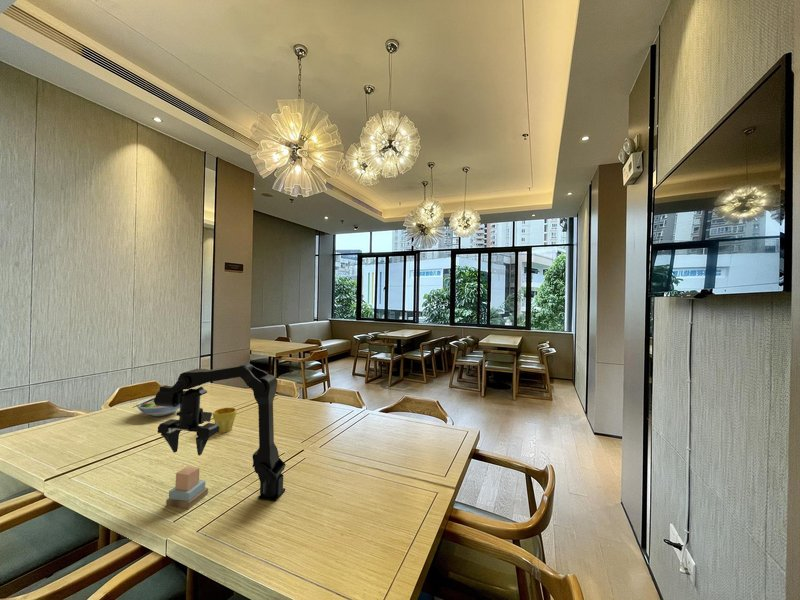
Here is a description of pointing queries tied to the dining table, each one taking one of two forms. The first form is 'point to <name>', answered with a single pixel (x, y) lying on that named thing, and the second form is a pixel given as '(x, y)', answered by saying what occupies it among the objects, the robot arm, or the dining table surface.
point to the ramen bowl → (154, 408)
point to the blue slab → (187, 492)
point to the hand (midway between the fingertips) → (187, 453)
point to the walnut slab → (187, 503)
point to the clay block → (187, 478)
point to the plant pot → (225, 418)
